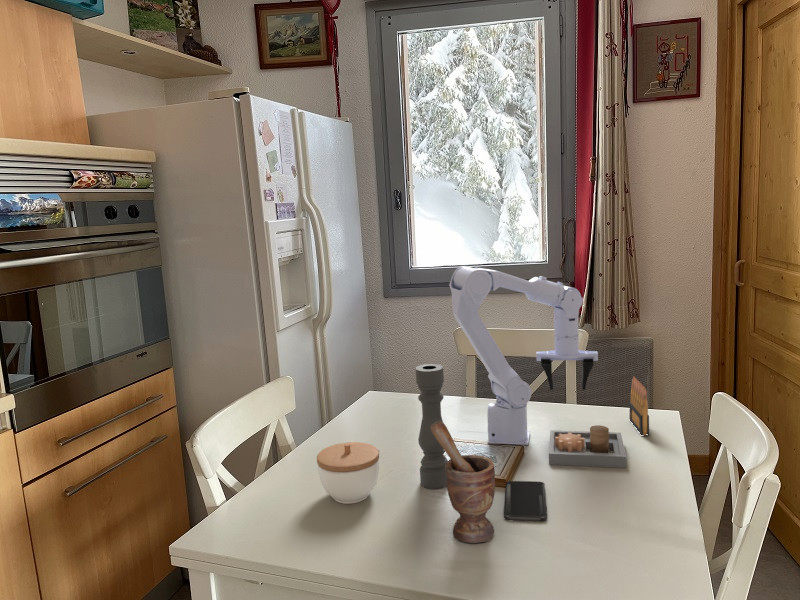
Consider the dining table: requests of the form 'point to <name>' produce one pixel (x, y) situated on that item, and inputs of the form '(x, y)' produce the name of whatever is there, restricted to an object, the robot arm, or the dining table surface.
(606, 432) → the brown rounded cylinder
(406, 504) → the dining table surface
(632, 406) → the ammunition clip
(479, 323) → the robot arm
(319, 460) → the lidded bowl
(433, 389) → the candle holder
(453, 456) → the mortar and pestle
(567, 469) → the dining table surface
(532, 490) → the phone
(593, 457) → the housing
